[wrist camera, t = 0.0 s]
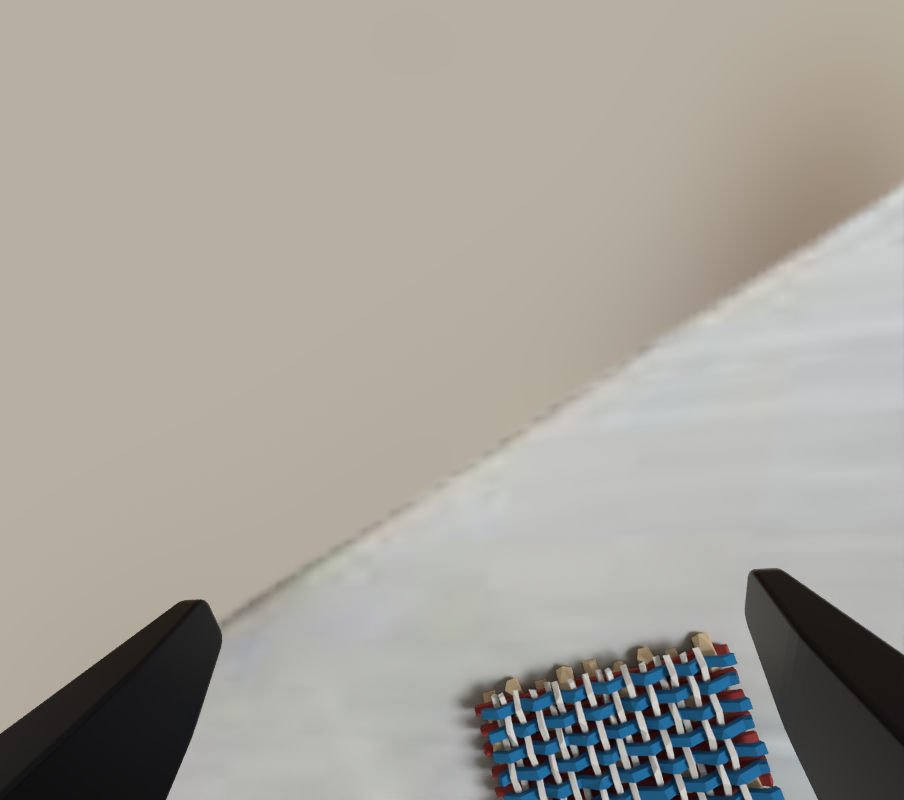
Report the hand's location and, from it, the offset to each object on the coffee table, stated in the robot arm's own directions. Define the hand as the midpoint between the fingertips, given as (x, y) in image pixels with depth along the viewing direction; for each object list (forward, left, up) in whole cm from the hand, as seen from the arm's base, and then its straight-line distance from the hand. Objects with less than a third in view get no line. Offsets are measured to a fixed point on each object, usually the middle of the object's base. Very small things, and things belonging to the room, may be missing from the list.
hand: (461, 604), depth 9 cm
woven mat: (-11, +2, -16) cm, 20 cm away
